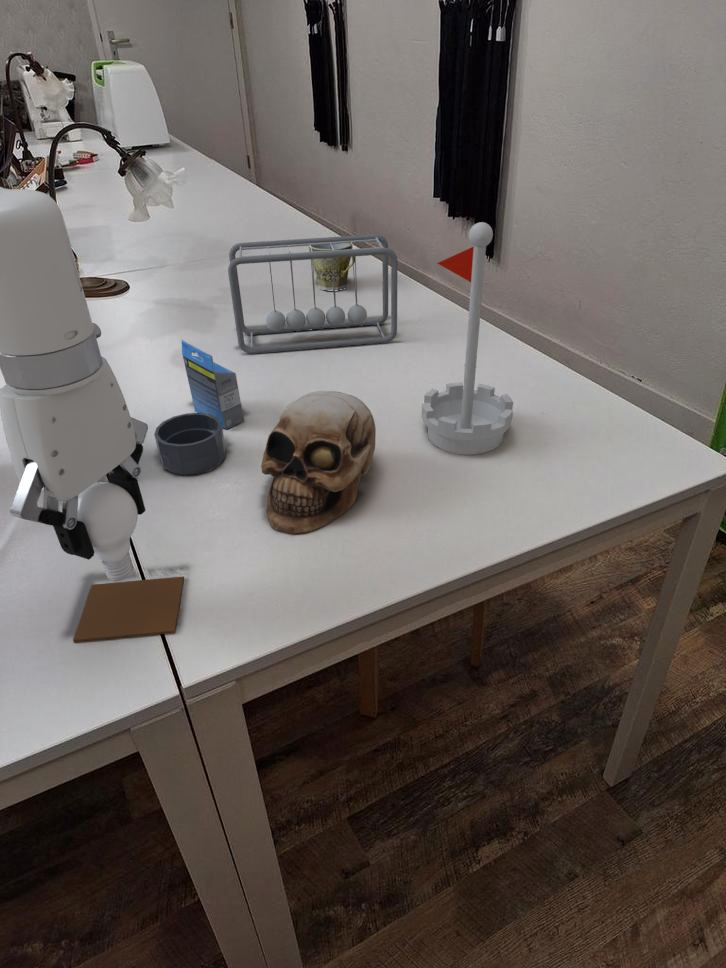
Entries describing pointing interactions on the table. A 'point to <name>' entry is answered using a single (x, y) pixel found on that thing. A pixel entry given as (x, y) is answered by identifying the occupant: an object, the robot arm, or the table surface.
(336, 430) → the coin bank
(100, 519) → the lightbulb
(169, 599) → the mat
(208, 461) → the basin
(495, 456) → the table surface
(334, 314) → the newton's cradle
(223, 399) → the label tape box
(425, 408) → the flag stand
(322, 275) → the ceramic cup
